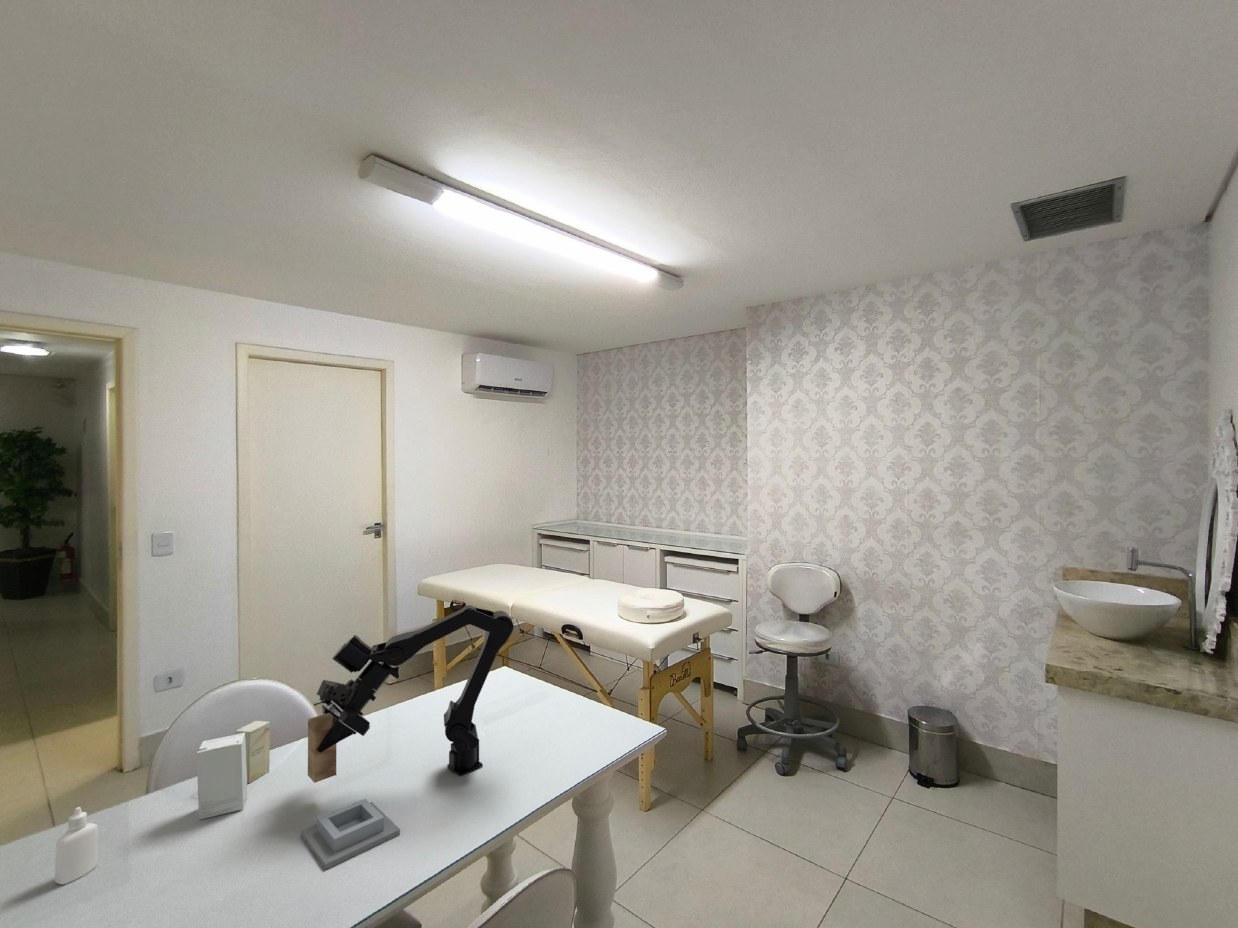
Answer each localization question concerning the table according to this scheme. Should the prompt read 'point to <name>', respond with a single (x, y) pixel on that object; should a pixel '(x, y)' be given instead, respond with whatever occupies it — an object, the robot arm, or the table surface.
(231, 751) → the skincare box
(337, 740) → the robot arm
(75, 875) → the eye dropper bottle
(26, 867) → the table surface
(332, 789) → the table surface
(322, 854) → the housing
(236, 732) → the skincare box
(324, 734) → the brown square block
